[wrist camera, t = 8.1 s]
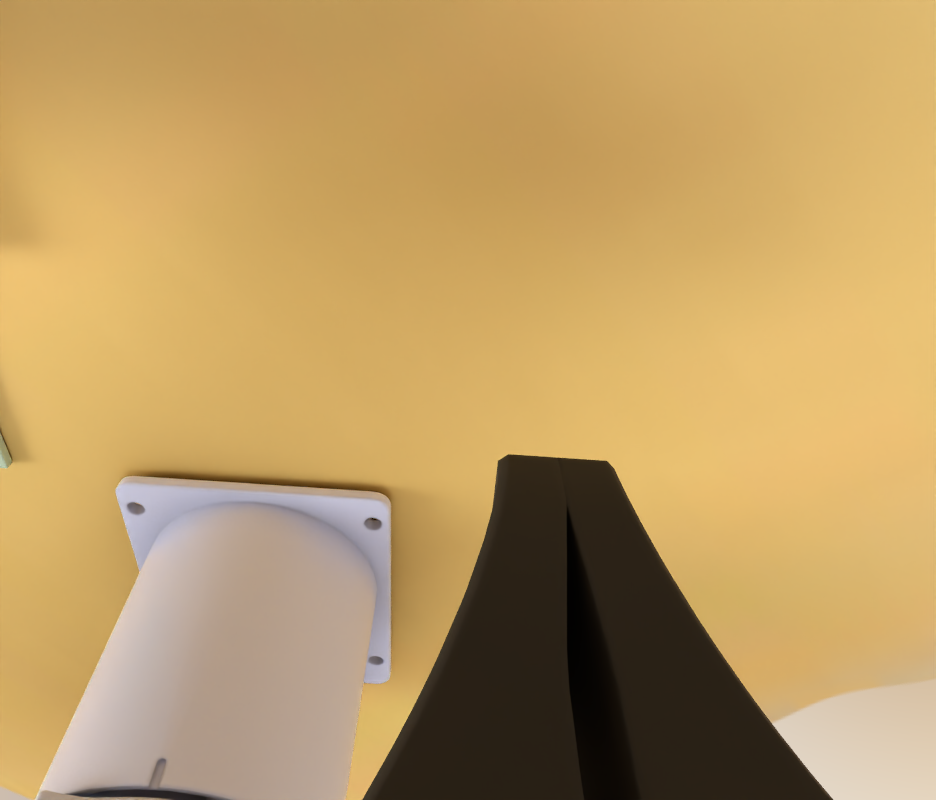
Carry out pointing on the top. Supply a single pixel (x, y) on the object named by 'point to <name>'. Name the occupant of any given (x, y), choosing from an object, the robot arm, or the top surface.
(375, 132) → the top surface
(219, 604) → the robot arm
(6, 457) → the mat
